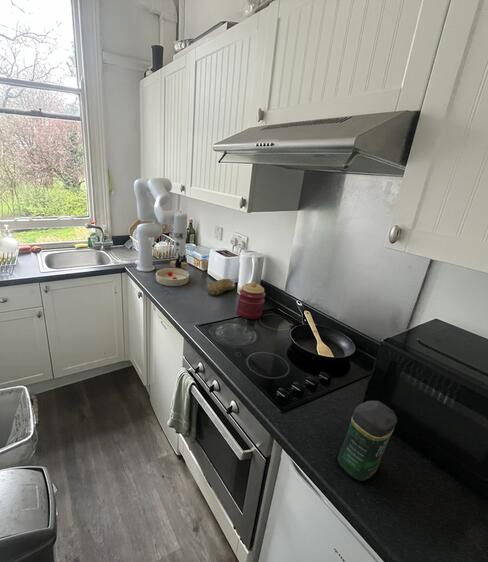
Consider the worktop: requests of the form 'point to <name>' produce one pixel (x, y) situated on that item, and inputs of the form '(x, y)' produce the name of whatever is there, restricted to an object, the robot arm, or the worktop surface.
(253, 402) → the worktop surface
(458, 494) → the worktop surface
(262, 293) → the kitchen canister
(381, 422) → the coffee jar
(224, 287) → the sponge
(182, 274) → the bowl
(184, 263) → the stick
